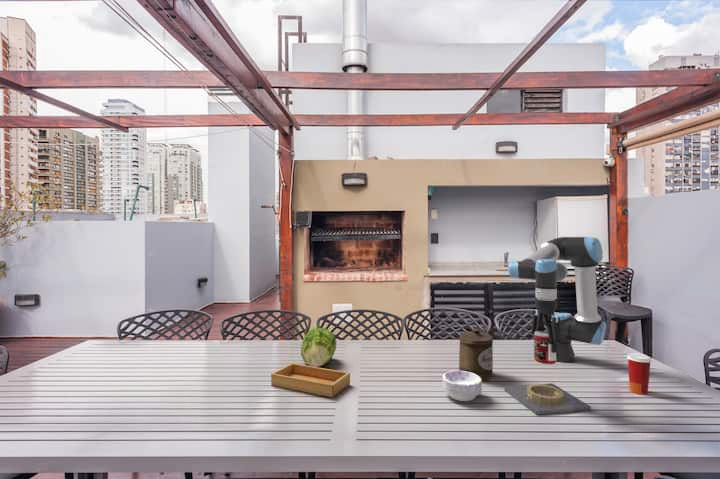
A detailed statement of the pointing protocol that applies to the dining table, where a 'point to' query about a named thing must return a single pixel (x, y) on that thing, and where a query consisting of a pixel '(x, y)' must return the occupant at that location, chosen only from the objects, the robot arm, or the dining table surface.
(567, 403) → the collar plate
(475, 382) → the paper bowls
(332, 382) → the tray
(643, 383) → the coffee cup
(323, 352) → the lettuce
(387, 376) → the dining table surface
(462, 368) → the wooden container
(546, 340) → the canned food
